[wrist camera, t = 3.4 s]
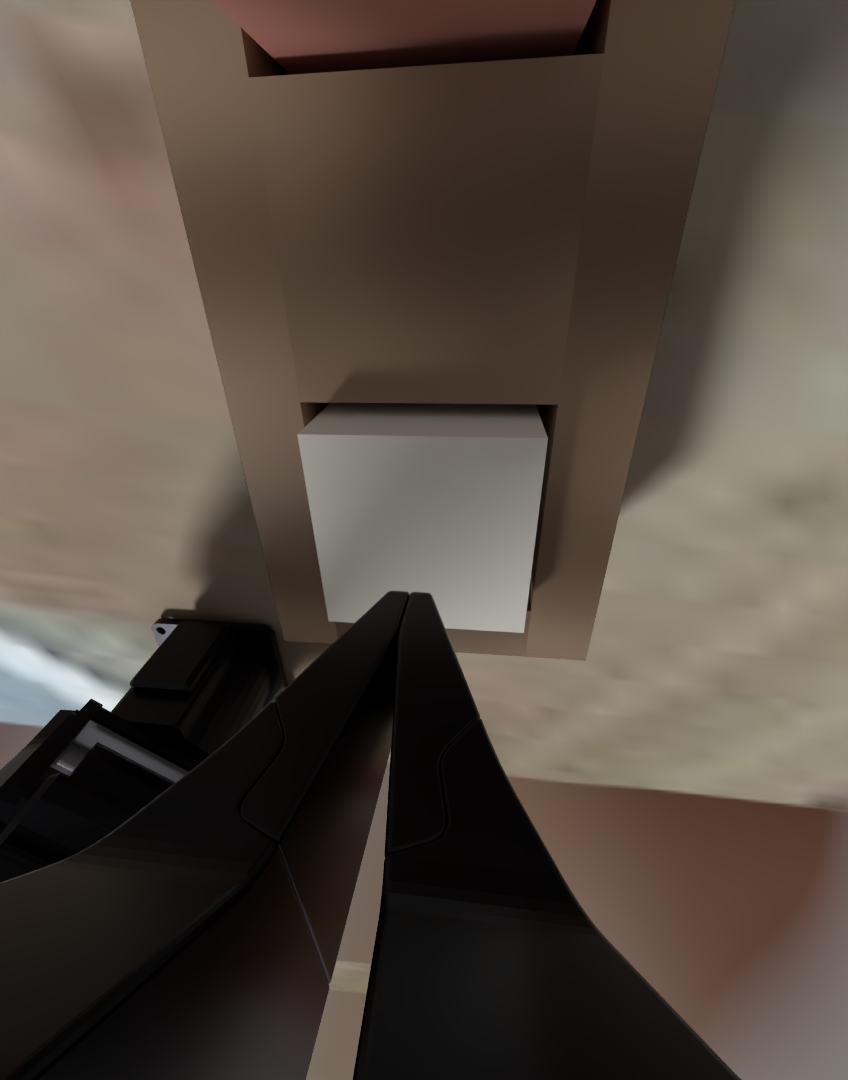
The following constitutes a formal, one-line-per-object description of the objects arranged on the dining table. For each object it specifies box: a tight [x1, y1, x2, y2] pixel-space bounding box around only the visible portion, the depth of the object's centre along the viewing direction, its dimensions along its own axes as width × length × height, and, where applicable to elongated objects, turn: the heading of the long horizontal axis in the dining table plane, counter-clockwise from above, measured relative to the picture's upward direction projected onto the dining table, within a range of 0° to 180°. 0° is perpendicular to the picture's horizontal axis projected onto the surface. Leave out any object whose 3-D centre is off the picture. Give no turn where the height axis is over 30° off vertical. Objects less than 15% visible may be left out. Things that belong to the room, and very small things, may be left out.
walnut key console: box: [130, 0, 736, 660], centre depth 12 cm, size 22×10×6 cm, turn 1°
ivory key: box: [297, 403, 548, 633], centre depth 13 cm, size 6×6×4 cm
